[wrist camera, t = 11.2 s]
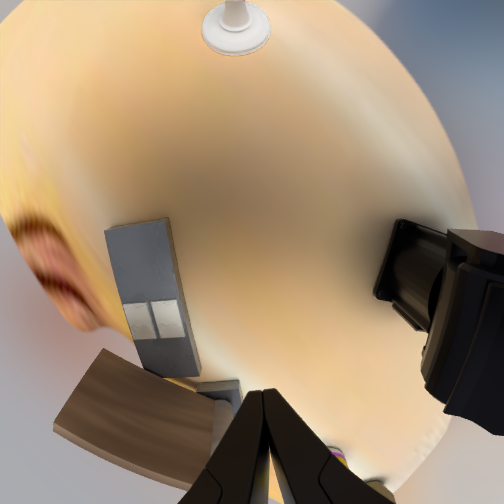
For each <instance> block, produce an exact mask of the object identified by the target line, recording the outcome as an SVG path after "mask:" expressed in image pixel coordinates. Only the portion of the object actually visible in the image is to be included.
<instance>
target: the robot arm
mask: <svg viewBox="0 0 504 504" xmlns="http://www.w3.org/2000/svg"><path fill="white" fill-rule="evenodd" d="M401 223H403V226H402V227H401V228H400V224H401ZM379 291H382V292H381V294H379V295H378V293H379ZM373 294H374V296H375V297H376V298H377V299H379V300H384V301H390V302H393V305H392V307H393V309H394V310H395V311H396V312H397V313H398V314H399V315H400V316H401V317H402V318H403V319H404V320H405V321H406V322H407V323H408V324H409V325H410V326H411V327H412V328H413V329H414V330H416V331H422V332H427V333H428V334H429V335H428V338H427V342H426V345H425V346H424V347H423V350H422V357H423V358H422V361H421V373H422V376H423V378H424V381H425V382H426V383H425V389H426V390H427V391H428V392H429V393H430V394H431V395H432V396H433V397H434V398H435V399H437V400H438V401H440V402H441V403H443V404H445V405H446V406H445V408H444V410H443V412H444V413H445V414H448V415H454V416H460V417H462V418H465V419H468V420H470V421H473V422H474V423H476V424H478V425H479V426H481V427H482V428H484V429H485V430H487V431H488V432H490V433H491V434H493V435H499V436H504V234H501V233H497V232H493V231H480V230H460V229H447V234H444V233H442V232H439V231H436V230H434V229H431V228H428V227H425V226H422V225H420V224H417V223H414V222H411V221H408V220H405V219H402V218H399V219H397V220H396V222H395V225H394V229H393V232H392V236H391V239H390V243H389V246H388V249H387V252H386V256H385V259H384V262H383V265H382V268H381V271H380V274H379V277H378V280H377V283H376V286H375V288H374V292H373ZM269 448H270V451H269ZM270 454H271V458H272V462H273V465H274V469H275V472H276V476H277V479H278V483H279V486H280V490H281V493H282V497H283V500H284V504H396V503H394V502H393V501H391V500H390V499H388V498H387V497H385V496H384V495H382V494H381V493H379V492H378V491H376V490H375V489H374V488H372V487H371V486H369V485H368V484H367V483H365V482H364V481H363V480H361V479H360V478H359V477H358V476H356V475H355V474H354V473H353V472H351V471H350V470H349V469H348V468H347V467H346V466H345V465H344V464H343V463H342V462H341V461H340V460H339V459H338V458H337V457H336V456H335V455H334V454H332V452H331V451H330V449H329V448H328V447H327V446H326V445H325V444H324V443H323V442H322V441H321V440H320V439H319V437H318V436H317V435H316V434H315V433H314V432H313V431H312V430H311V429H310V427H309V426H308V425H307V424H306V423H305V422H304V421H303V420H302V418H301V417H300V416H299V415H298V414H297V413H296V412H295V410H294V409H293V408H292V407H291V406H290V405H289V403H288V402H287V401H286V400H285V399H284V397H283V396H282V395H281V394H280V393H279V392H278V390H277V389H275V388H271V389H264V390H263V391H261V390H255V391H249V392H248V393H247V395H246V397H245V398H244V400H243V402H242V404H241V406H240V407H239V409H238V411H237V413H236V414H235V416H234V418H233V420H232V421H231V423H230V425H229V427H228V428H227V430H226V432H225V434H224V435H223V437H222V439H221V440H220V442H219V444H218V445H217V447H216V449H215V450H214V452H213V454H212V455H211V457H210V459H209V460H208V462H207V464H206V465H205V468H204V469H203V470H202V471H201V473H200V475H199V476H198V478H197V479H196V481H195V482H194V483H193V485H192V486H191V488H190V489H189V490H188V492H187V493H186V494H185V495H184V497H183V498H182V499H181V500H180V501H179V502H178V504H268V491H269V466H270Z"/></svg>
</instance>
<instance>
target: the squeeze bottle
mask: <svg viewBox="0 0 504 504" xmlns="http://www.w3.org/2000/svg"><path fill="white" fill-rule="evenodd" d="M367 484H368V485H369V486H371V487H372V488H374V489H375V490H376V491H378V492H379V493H381V494H382V495H384V496H385V497H387V498H388V499H390V500H391V501H393V502H394V503H396V502H395V499H394V495H393V494H392V493H391V492H390V491H389V490H388V489H387V488H386V487H385V486H384V485H383V484H382V483H381V482H379V481H372V482H368V483H367Z"/></svg>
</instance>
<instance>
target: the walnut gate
mask: <svg viewBox="0 0 504 504" xmlns="http://www.w3.org/2000/svg"><path fill="white" fill-rule="evenodd" d="M232 420H233V406H232V404H231V403H230V402H228V401H226V400H213V399H211V398H208V397H206V396H203V395H200V394H198V393H196V392H193V391H191V390H188V389H186V388H183V387H181V386H179V385H177V384H174V383H172V382H170V381H168V380H165V379H163V378H161V377H159V376H157V375H155V374H152V373H150V372H148V371H146V370H144V369H142V368H140V367H138V366H136V365H134V364H132V363H130V362H128V361H126V360H124V359H123V358H121V357H119V356H117V355H115V354H113V353H112V352H110V351H108V350H106V349H104V348H103V349H102V350H101V352H100V353H99V355H98V356H97V358H96V359H95V360H94V362H93V363H92V364H91V366H90V367H89V369H88V370H87V372H86V373H85V375H84V376H83V378H82V379H81V381H80V382H79V384H78V385H77V386H76V388H75V389H74V391H73V393H72V394H71V396H70V397H69V399H68V400H67V402H66V403H65V405H64V407H63V408H62V410H61V411H60V413H59V414H58V416H57V417H56V419H55V421H54V423H53V431H54V432H55V433H57V434H59V435H60V436H62V437H64V438H66V439H67V440H69V441H70V442H72V443H74V444H76V445H78V446H79V447H81V448H83V449H85V450H87V451H89V452H91V453H93V454H95V455H97V456H98V457H100V458H103V459H105V460H107V461H109V462H111V463H113V464H116V465H118V466H120V467H122V468H124V469H127V470H129V471H132V472H134V473H136V474H139V475H142V476H144V477H147V478H149V479H152V480H155V481H158V482H161V483H163V484H166V485H169V486H173V487H176V488H179V489H182V490H186V491H188V490H189V489H190V488H191V486H192V485H193V483H194V482H195V481H196V479H197V478H198V476H199V475H200V473H201V471H202V470H203V469H204V468H205V465H206V464H207V462H208V460H209V459H210V457H211V455H212V454H213V452H214V450H215V449H216V447H217V445H218V444H219V442H220V440H221V439H222V437H223V435H224V434H225V432H226V430H227V428H228V427H229V425H230V423H231V421H232Z"/></svg>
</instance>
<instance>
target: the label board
mask: <svg viewBox="0 0 504 504" xmlns="http://www.w3.org/2000/svg"><path fill="white" fill-rule="evenodd" d="M104 233H105V238H106V242H107V247H108V251H109V256H110V260H111V264H112V269H113V273H114V276H115V280H116V284H117V288H118V292H119V295H120V299H121V302H122V306H123V309H124V312H125V316H126V319H127V322H128V325H129V328H130V331H131V334H132V337H133V340H134V343H135V346H136V349H137V352H138V355H139V357H140V360H141V363H142V366H143V368H144V370H146V371H148V372H150V373H152V374H155V375H157V376H159V377H161V378H177V377H198V376H200V373H201V364H200V360H199V357H198V353H197V349H196V345H195V341H194V337H193V333H192V329H191V325H190V320H189V316H188V312H187V308H186V303H185V299H184V294H183V290H182V285H181V280H180V275H179V270H178V265H177V260H176V255H175V250H174V244H173V239H172V233H171V228H170V222H169V218H163V219H157V220H151V221H145V222H140V223H134V224H128V225H122V226H117V227H112V228H109V229H107V230H105V231H104ZM196 393H198V394H200V395H203V396H206V397H208V398H211V399H213V400H226V401H228V402H230V403H231V404H232V406H233V418H234V416H235V414H236V413H237V411H238V409H239V407H240V406H241V404H242V402H243V398H242V393H241V388H240V383H239V380H233V381H222V382H208V383H198V385H197V390H196Z"/></svg>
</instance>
